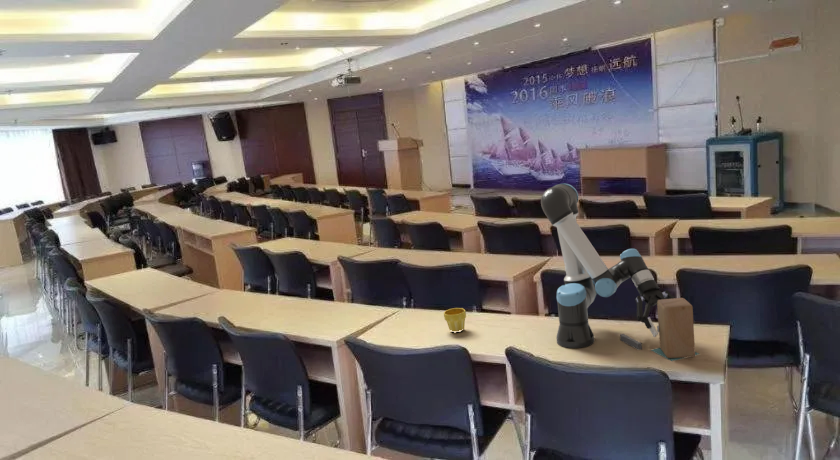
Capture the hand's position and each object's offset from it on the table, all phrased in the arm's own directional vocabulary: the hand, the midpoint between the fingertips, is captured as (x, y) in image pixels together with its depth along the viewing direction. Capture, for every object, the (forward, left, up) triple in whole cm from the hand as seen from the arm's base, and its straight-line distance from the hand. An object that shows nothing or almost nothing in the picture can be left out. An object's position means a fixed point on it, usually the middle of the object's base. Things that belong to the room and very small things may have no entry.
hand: (672, 331), depth 208 cm
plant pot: (-69, -64, -8) cm, 95 cm away
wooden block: (+3, 0, -8) cm, 8 cm away
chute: (-13, 0, -8) cm, 15 cm away
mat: (+1, 0, -8) cm, 8 cm away
